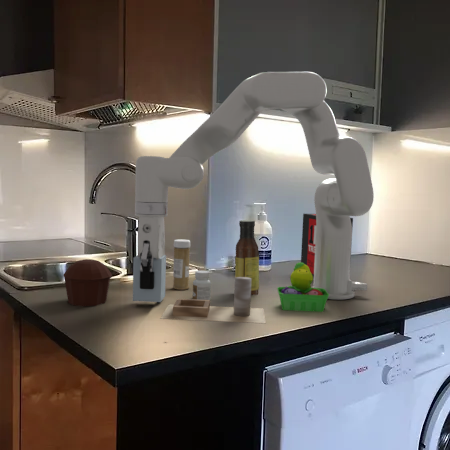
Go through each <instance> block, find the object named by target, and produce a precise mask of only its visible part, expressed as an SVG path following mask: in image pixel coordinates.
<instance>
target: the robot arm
mask: <svg viewBox="0 0 450 450" xmlns="http://www.w3.org/2000/svg"><path fill="white" fill-rule="evenodd" d="M327 92H328V90H327V84H326V81H325V80H324V79H323V77H322V76H320V75H319V74H317V73H315V72H313V71H267V72H264V71H263V72H259V73H257V74H255V75H252V76H251V77H248V78H246V79H244V80H243V81H241V82H240V84H239V85H238V86H236V87H235V89H234V90H233V91H232V92H231V93H229V95H228V96H227V98H225V100H224V101H223V102H222V103H221V104H220V105H219V106H218V108H216V110H214V112H213V113H212V114H211V115H210V116H209V117H208V118H207V119H206V120H204V122H203V123H202V124H200V126H199V127H197V129H196V130H195V131H194V132H193V133H191V135H190V136H189V137H187V138H186V139H185V140H184V141H183V142H182V143H181V144H180V145H179V146H178V148H177V149H176V150H175V151H174V152H173V153H172V154H171V155H170V156H169V157H164V156H154V155H153V156H152V155H150V156H149V155H143V156H139V157H138V158H137V159H136V160H135V179H134V181H135V193H134V216H135V217H138V230H137V233H138V234H137V255H138V257H139V258H140V257H141V258H140V259H141V267H140V289H153V288H154V272H153V266H154V258H156V260H159V259H160V258H161V257H162V256H163V255H166V254H165V253H166V237H165V235H166V233H165V232H166V231H165V230H166V229H165V218H167V217H168V212H169V211H168V210H169V209H168V206H169V204H168V202H169V201H168V200H169V187H170V188H173V189H174V188H175V189H182V190H190V189H194V188H196V187H198V186H199V185H200V184H201V182H202V181H203V179H204V175H205V171H204V167H203V165H204V164H205V163H206V162H207V161H208V160H209V159H211V158H212V157H213V156H214V155H216V154H217V153H219V152H221V151H223V150H225V149H227V148H229V147H230V146H231V145H233V144H234V143H235V142H236V141H238V140H239V138H240V137H241V136H242V135H243V133H245V131H246V130H247V129H248V128H249V127H250V126H251V124H252V123H253V122H254V121H255V120H256V118H258V117H259V115H261V113H262V112H264V111H269V110H276V109H277V110H281V111H283V112H285V113H286V112H287V113H288V114H291V115H292V116H293V117H294V118H296V120H297V121H298V122H299V123H300V125H301V127H302V130H303V133H304V137H305V141H306V146H307V150H308V154H309V159H310V163H311V165H312V168H313V170H315V172H316V173H318V174H321V175H326V176H327V175H331V176H334V177H335V178H334V177H333V178H327V179H325V180H323V181H322V182H321V183H320V184H318V186H317V187H316V188H315V192H314V196H313V197H314V199H313V201H314V208H315V214H316V243H315V262H314V279H313V281H312V284H313V285H312V286H311V287H312V288H323V289H325V290H326V292H327V293H328V294H329V296H328V299H327V300H339V301H340V300H341V301H342V300H350V299H353V298H355V291H356V290H358V291H359V290H360V291H367V290H368V284H367V282H359V281H353V280H352V279H351V277H350V274H351V273H350V272H351V262H350V260H351V261H352V245H351V243H353V242H352V240H353V228H352V224H351V220H350V218H351V217H361V216H363V215H365V214H367V213H368V212H369V211H370V209H372V206H373V203H374V198H375V197H374V187H373V183H372V178H371V177H372V176H371V173H370V167H369V163H368V157H367V155H366V152H365V149H364V147H363V146H362V144H361V143H360V142H359V141H358V140H357V139H355V138H353V137H350V136H341V135H340V133H339V129H338V125H337V122H336V119H335V115H334V113H333V110H332V109H331V107H330V106H329V105H328V103H327V102H326V101H325V99H326V96H327ZM148 257H152V258H148ZM148 261H151V264H150V262H148ZM349 277H350V278H349Z"/></svg>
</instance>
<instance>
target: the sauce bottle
mask: <svg viewBox="0 0 450 450" xmlns="http://www.w3.org/2000/svg"><path fill="white" fill-rule="evenodd" d="M238 224H239V225H238V226H239V239H238V240H237V242H236V244H235V256H234V258H235V262H234V263H235V265H234V267H235V271H234V273H235V274H234V275H235V276H234V279H235V278H236V277H248V278H251V296H253V295H255V296H256V295H257V296H258V295H259V289H260V254H259V246H258V244H257V241H256V238H255V225H256V221H255V220H253V219H252V220H251V219H245V220H244V219H242V220H239V223H238Z"/></svg>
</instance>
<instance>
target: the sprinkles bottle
mask: <svg viewBox="0 0 450 450" xmlns="http://www.w3.org/2000/svg"><path fill="white" fill-rule="evenodd" d="M190 248H191V240H190V239H184V238H183V239H181V238H179V239H174V240H173V272H172V273H173V275H172V276H173V280H172V281H173V285H172V288H173V289H174V290H178V291H179V290H180V291H185V290H188V289H190V284H189V283H190V281H189V280H190Z"/></svg>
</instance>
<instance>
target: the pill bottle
mask: <svg viewBox="0 0 450 450" xmlns="http://www.w3.org/2000/svg"><path fill="white" fill-rule="evenodd" d="M194 273H195V274H194V275H195V276H194V278H195V279H194V280H193V282H192V299H198V300H210V301H211V297H212V296H211V293H212V291H211V290H212V289H211V288H212V282H211V280H210V279H209V278H210V271H209V270H196V271H195V272H194Z"/></svg>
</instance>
